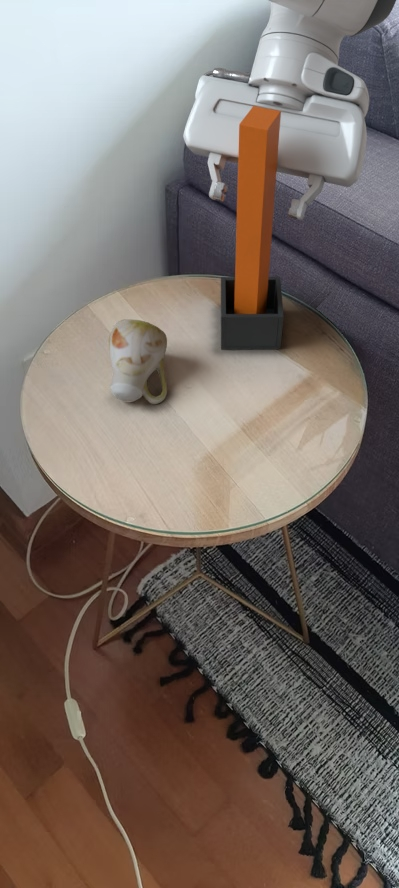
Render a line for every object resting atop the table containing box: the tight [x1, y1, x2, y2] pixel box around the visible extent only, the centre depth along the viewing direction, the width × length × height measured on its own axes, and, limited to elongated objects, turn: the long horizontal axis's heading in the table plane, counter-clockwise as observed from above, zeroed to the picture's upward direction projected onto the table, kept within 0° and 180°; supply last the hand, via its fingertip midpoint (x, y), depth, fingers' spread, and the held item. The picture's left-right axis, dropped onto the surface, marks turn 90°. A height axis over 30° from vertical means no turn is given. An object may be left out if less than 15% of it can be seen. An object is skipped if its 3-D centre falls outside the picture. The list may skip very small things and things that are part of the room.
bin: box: [220, 276, 285, 351], centre depth 89 cm, size 8×8×6 cm
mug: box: [108, 318, 168, 405], centre depth 85 cm, size 8×10×10 cm
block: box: [234, 106, 281, 314], centre depth 80 cm, size 3×4×28 cm
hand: (255, 208), depth 77 cm, fingers open, 8 cm apart
